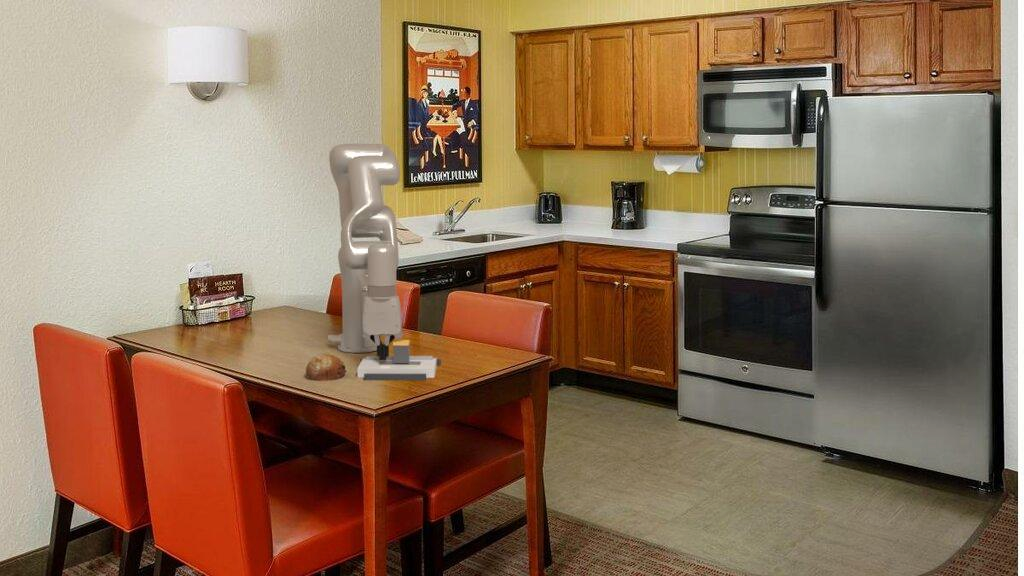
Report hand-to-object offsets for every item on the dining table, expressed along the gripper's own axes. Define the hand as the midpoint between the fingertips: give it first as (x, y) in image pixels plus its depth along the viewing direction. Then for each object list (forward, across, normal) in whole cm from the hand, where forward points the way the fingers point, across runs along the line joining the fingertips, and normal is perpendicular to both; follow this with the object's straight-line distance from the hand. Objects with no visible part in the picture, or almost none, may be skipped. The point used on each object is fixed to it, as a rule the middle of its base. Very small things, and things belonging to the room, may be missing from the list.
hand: (382, 359), depth 258 cm
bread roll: (+4, -14, -5) cm, 16 cm away
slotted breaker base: (+4, +4, 0) cm, 5 cm away
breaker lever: (+1, +5, 0) cm, 5 cm away
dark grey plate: (+4, +4, 0) cm, 5 cm away
